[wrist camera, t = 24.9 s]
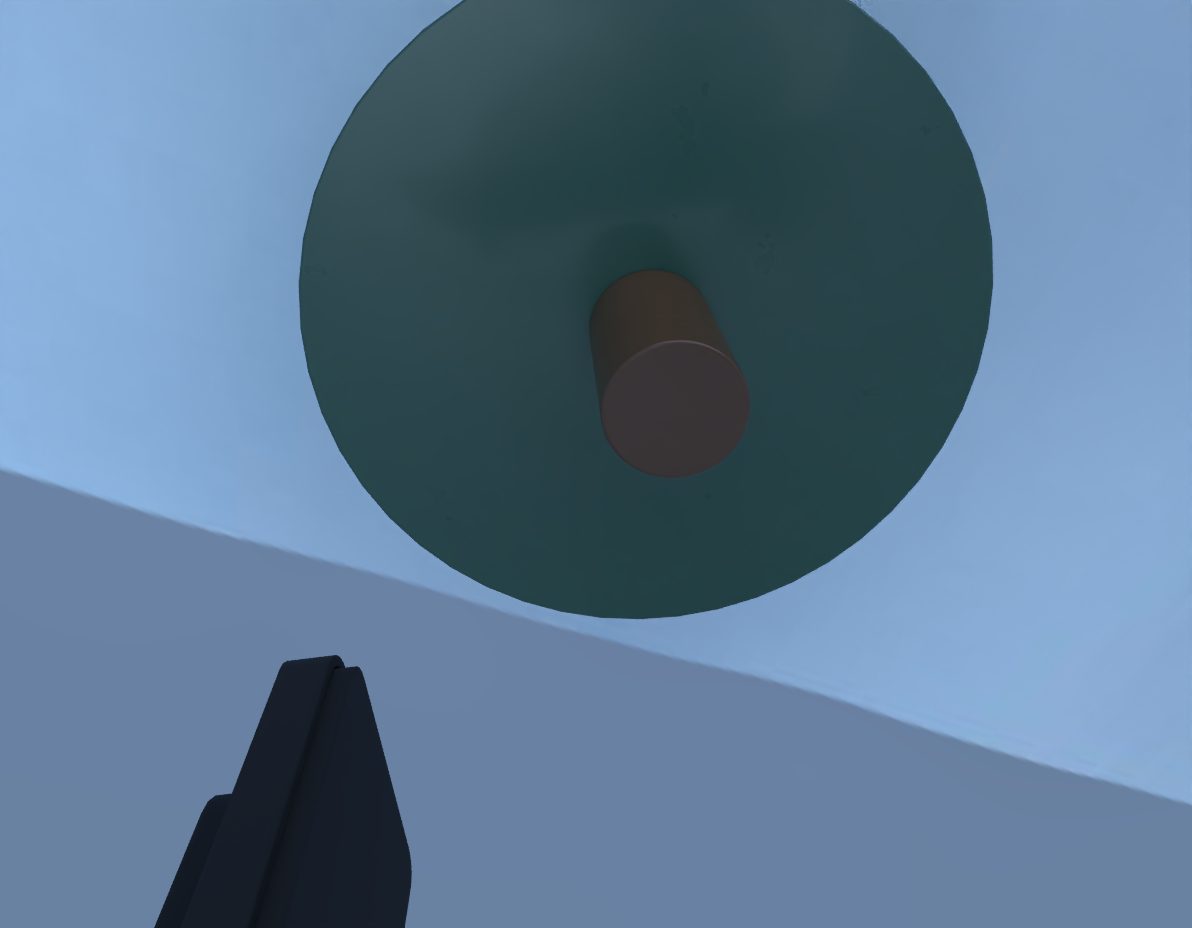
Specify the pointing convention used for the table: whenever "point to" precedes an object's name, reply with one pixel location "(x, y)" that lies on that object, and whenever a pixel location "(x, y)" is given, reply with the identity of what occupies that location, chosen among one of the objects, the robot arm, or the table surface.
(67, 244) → the table surface
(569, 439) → the lid
